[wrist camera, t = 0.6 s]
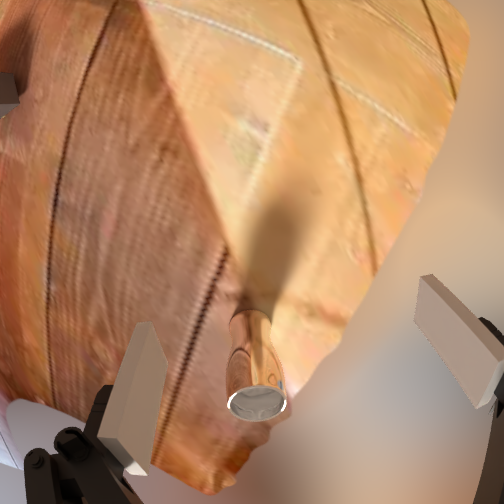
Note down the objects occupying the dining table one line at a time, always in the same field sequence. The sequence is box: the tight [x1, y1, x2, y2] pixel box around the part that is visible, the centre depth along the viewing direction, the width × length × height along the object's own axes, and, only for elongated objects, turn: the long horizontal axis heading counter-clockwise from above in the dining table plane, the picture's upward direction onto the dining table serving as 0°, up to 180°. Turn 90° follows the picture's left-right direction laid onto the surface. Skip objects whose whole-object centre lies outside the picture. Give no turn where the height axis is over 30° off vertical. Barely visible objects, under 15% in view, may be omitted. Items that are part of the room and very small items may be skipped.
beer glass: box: [226, 310, 287, 422], centre depth 39 cm, size 7×7×15 cm
